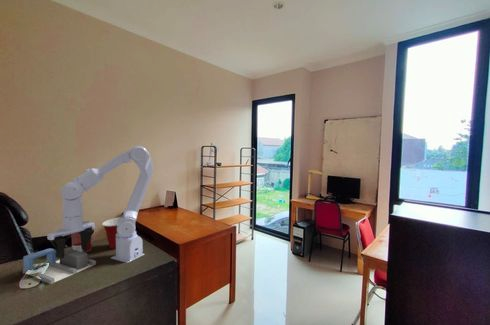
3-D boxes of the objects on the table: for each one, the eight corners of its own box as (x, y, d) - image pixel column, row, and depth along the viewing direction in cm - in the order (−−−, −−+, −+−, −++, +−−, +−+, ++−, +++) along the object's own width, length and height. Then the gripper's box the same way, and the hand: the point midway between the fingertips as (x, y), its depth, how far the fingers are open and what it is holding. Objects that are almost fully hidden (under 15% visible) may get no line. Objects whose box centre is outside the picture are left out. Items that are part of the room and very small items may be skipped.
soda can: (81, 256, 91) (81, 226, 91) (67, 254, 92) (67, 225, 92) (95, 249, 98) (95, 221, 97) (82, 247, 99) (82, 220, 99)
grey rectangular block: (87, 265, 82) (87, 253, 82) (77, 270, 79) (76, 257, 79) (70, 260, 86) (70, 248, 86) (59, 264, 83) (59, 252, 83)
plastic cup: (99, 247, 100) (99, 220, 99) (126, 240, 107) (125, 215, 107) (106, 255, 92) (105, 225, 92) (134, 247, 100) (134, 220, 99)
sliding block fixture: (95, 265, 83) (95, 248, 83) (50, 285, 70) (50, 265, 70) (68, 257, 90) (68, 241, 89) (23, 274, 77) (22, 256, 77)
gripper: (86, 210, 90) (86, 244, 90) (41, 219, 77) (42, 259, 77) (98, 212, 87) (98, 247, 88) (54, 222, 74) (54, 263, 74)
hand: (73, 253), depth 82 cm, fingers open, 7 cm apart
